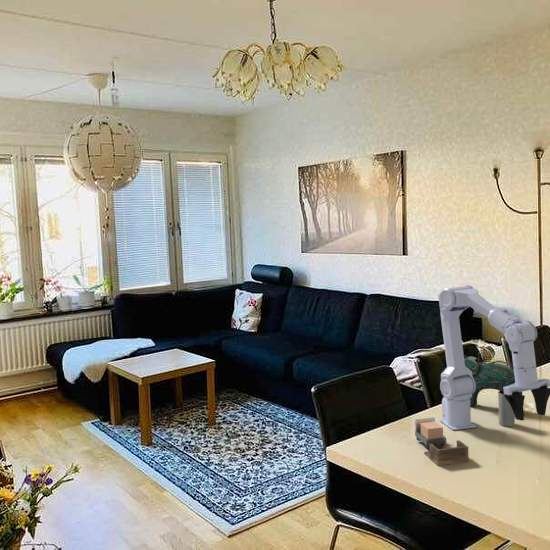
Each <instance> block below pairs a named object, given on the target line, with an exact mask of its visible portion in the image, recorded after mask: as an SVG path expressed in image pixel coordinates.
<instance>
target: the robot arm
mask: <svg viewBox="0 0 550 550" xmlns="http://www.w3.org/2000/svg"><path fill="white" fill-rule="evenodd" d="M438 305H439V310H440V311H439V313H440V321H441V322H440V323H441V329H442V330H441V331H442V336H443V337H442V338H443V345H444V353H445V360H446V361H445V362H446V368H445V369H444V370H443V371H442V372H441V374H440V383H439V385H440V386H439V389H440V391H441V395H442V396H443V397H442V399H441V415H442V416H441V417H442V418H440V419H439V421H440V422H441V423H443V424H444V425H445V426H447V428H449V429H450V430H452V431H457V430H465V429H473V428H477V425H476V424H475V423H473V422H472V418H471V417H472V416H471V415H472V414H471V410H472V409H471V407H470V398H471V397H472V394H473V393H474V392H475V389H476V384H475V381H474V379H473V376H472V371H471V370H469V369H468V368H467V367H465V362H464V355H465V354H464V347H463V340H462V339H463V338H462V331H461V325H460V324H461V322H460V316H461V314H462V313H463V312H464V311H465V310H467V309H468V308H472V309H473V310H475V311H477V312H478V313H480V314H482V315H483V316H484V317H486V318H488V321H487V322H488V323H489V325H490V326H492V327H493V328H495V329H496V331H497V330H498V332H500V333H501V334H503V336H504V339H505V340H506V342H507V344H508V347H509V350H510V351H511V357H512V358H511V359H512V366H513V368H512V369H513V370H514V376H515V383H514V384H511V385H509V386H506V387H503V389H504V397H505V398H506V399H507V401H508V402H509V404H510V406H511V408H512V410H513V412H514V418H515V420H518V421H524V419H525V412H524V406H525V405H524V404H525V403H524V402H525V398H526V395H523V394H522V395H520V394H519V392H522V393H523V392H528V391H530V392H531V394H532V396H533V400H534V404H535V409H536V410H535V411H536V413H537V415H540V416H546V411H547V406H548V400H549V399H550V379H549V378H548V379H547V378H541V379H540V378H539V377H538V371H537V363H536V362H537V361H536V353H535V346H534V342H535V341H536V339H537V338H538V330H537V327H536V326H535V325H534V324H533V323H532V321H529V320H524V321H523V320H521V319H520V318H519V317H518V316H517V317H516V316H515V315H513V314H512V313H510V312H509V311H508V309H507V308H506V307H497V308H496V307H495V306H494V305H492V304H491V303H490V302H489V301H488V300H486V299H485V298H484V297H483V296H482V295H480V294H479V291H478V289H476V288H475V287H473V286H472V285H468V284H467V285H463V286H454V287H444V288H443V289H441V291H440V293H439V294H438ZM538 378H539V379H538Z"/></svg>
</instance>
